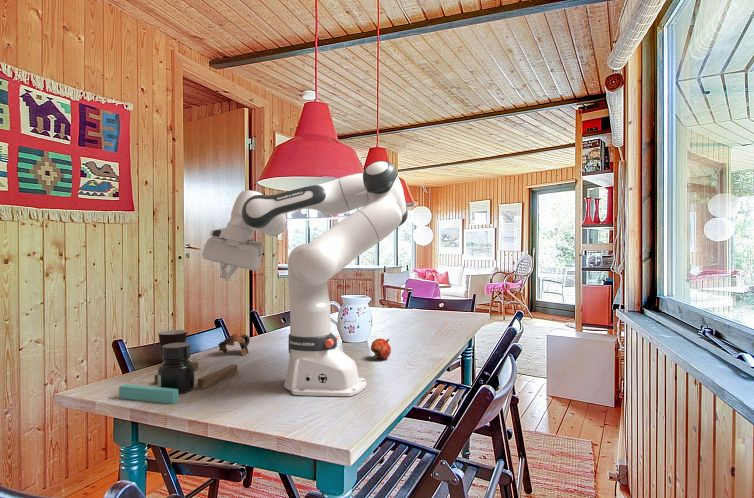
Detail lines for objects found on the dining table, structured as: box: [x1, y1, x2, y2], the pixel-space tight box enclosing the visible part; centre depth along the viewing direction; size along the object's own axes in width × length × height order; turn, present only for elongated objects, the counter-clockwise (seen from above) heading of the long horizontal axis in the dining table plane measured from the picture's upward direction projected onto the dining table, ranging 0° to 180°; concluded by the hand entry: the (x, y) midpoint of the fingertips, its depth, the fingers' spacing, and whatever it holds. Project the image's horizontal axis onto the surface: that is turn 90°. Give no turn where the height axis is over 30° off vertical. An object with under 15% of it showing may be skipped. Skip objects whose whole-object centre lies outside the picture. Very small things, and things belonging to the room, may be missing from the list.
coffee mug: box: [158, 329, 188, 364], centre depth 151 cm, size 12×9×10 cm
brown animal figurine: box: [217, 333, 251, 357], centre depth 162 cm, size 12×10×8 cm
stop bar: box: [118, 383, 179, 405], centre depth 112 cm, size 16×2×3 cm, turn 74°
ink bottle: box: [157, 342, 195, 395], centre depth 120 cm, size 10×9×12 cm
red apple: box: [369, 338, 392, 361], centre depth 153 cm, size 7×7×10 cm
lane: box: [154, 360, 239, 390], centre depth 131 cm, size 16×16×2 cm
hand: (224, 278), depth 145 cm, fingers closed
